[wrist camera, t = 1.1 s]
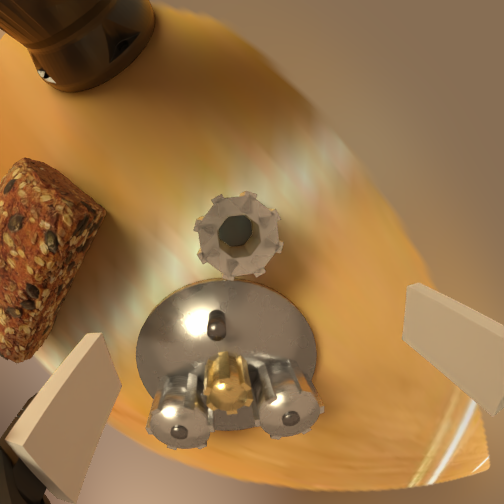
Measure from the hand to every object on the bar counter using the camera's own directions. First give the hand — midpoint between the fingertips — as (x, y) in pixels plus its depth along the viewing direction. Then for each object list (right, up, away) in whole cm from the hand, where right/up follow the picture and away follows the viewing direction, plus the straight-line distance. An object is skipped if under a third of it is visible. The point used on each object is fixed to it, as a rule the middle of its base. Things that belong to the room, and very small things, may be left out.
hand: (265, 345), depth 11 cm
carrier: (-3, -9, +19) cm, 21 cm away
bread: (-24, +3, +15) cm, 28 cm away
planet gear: (-2, +6, +17) cm, 18 cm away
